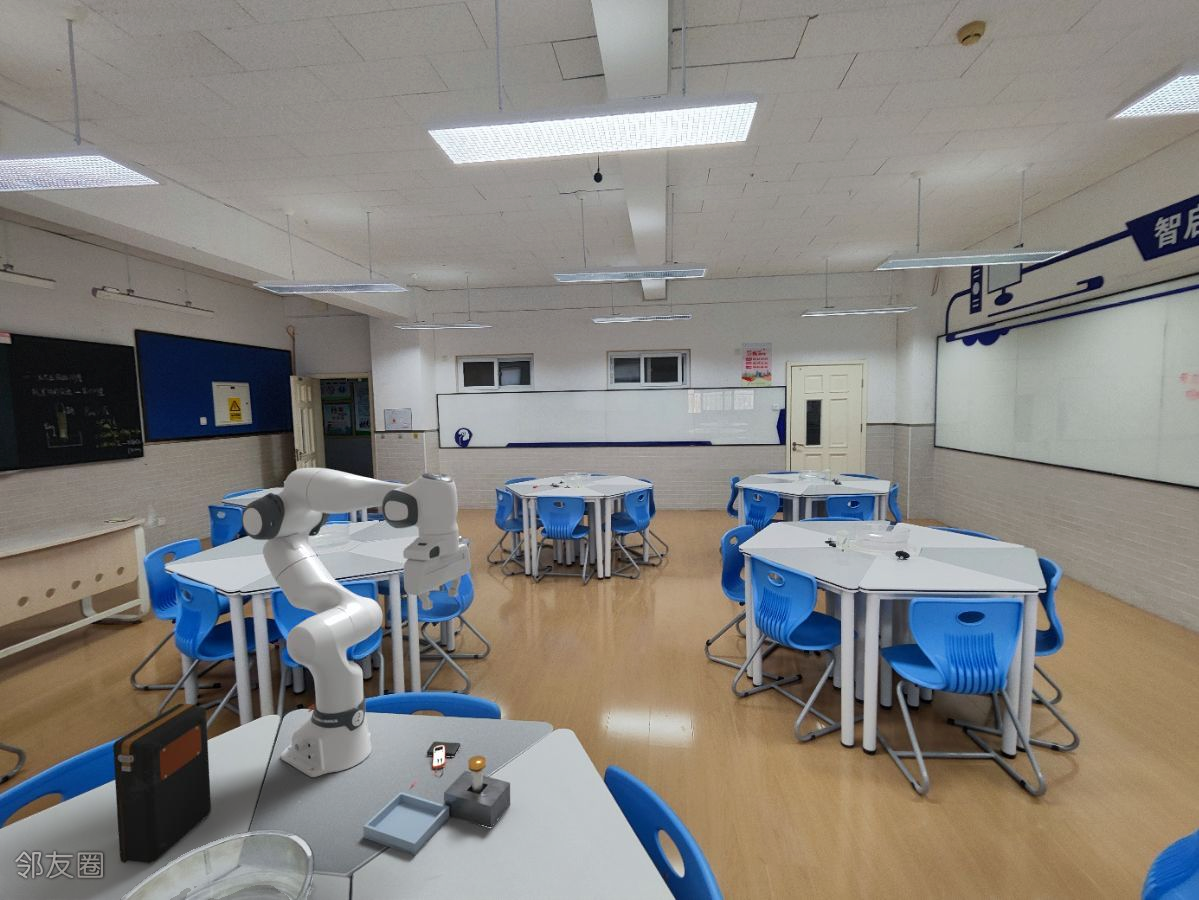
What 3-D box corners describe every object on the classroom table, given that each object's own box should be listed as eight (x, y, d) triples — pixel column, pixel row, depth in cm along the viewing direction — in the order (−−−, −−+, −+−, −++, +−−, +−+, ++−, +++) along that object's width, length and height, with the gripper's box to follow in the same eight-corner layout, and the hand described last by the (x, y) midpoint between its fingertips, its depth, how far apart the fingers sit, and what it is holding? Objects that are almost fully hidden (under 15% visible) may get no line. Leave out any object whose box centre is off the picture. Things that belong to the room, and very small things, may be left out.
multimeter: (445, 797, 127) (445, 782, 127) (398, 790, 129) (398, 776, 129) (477, 751, 145) (477, 738, 144) (435, 745, 147) (434, 733, 147)
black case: (183, 808, 123) (177, 700, 121) (217, 811, 122) (212, 703, 120) (113, 865, 107) (105, 742, 106) (152, 869, 106) (145, 745, 105)
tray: (363, 837, 114) (363, 826, 114) (401, 802, 125) (400, 791, 125) (414, 855, 110) (414, 843, 109) (449, 817, 120) (449, 806, 120)
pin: (465, 812, 121) (464, 764, 121) (475, 801, 125) (474, 754, 124) (480, 817, 120) (479, 768, 119) (489, 805, 124) (489, 757, 123)
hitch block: (444, 814, 121) (443, 792, 121) (465, 790, 128) (465, 770, 128) (491, 828, 117) (490, 806, 116) (510, 803, 124) (510, 782, 124)
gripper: (454, 533, 137) (456, 587, 138) (397, 552, 118) (399, 615, 119) (476, 535, 135) (477, 590, 136) (421, 555, 116) (423, 619, 117)
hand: (440, 602), depth 127 cm, fingers open, 8 cm apart
